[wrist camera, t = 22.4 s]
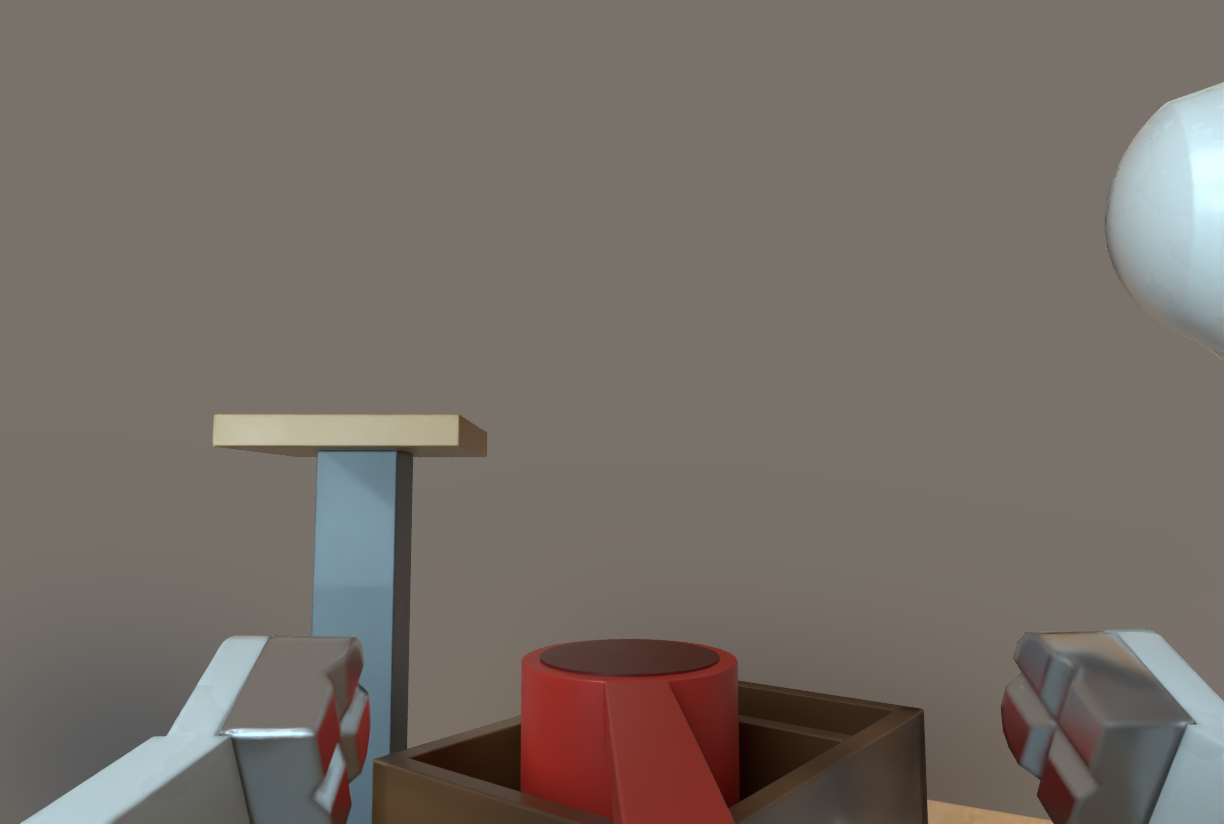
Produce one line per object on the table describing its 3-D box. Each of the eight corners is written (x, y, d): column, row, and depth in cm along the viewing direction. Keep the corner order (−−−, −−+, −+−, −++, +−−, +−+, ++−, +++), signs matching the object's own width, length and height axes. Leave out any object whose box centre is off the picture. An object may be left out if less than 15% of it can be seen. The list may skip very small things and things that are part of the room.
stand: (277, 992, 37) (296, 431, 40) (480, 987, 38) (487, 431, 40) (180, 1149, 28) (213, 413, 31) (448, 1141, 29) (459, 414, 31)
